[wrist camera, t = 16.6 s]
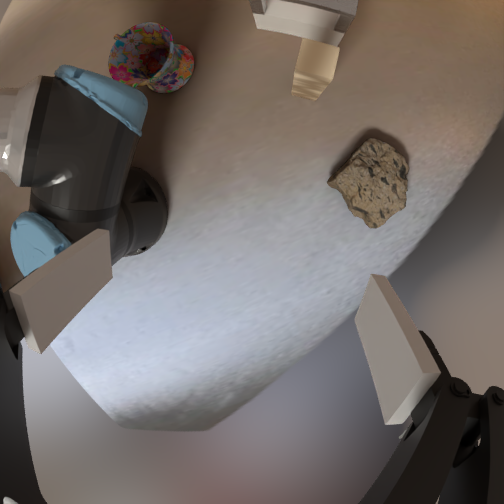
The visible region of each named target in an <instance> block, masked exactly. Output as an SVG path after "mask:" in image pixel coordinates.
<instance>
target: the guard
mask: <svg viewBox="0 0 504 504" xmlns="http://www.w3.org/2000/svg"><path fill="white" fill-rule="evenodd" d="M281 1H287V2H292V3H297V4H301V5H306V6H310V7H314V8H318V9H322V10H326V11H329V12H333V13H336V14H339V15H338V17H337V19H336V21H335V25H334V31H337V32H340V33H343V34H345V32H346V31H347V29H348V27H349V26H350V24H351V22H352V21H353V19H354V17H355V15H356V10H357V5H358V0H281ZM249 2H250V5H251V9H252V12H253V13H254V14H261V15H264V14H265V11H266V8H267V5H266V0H249Z"/></svg>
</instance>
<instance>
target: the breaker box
mask: <svg viewBox="0 0 504 504" xmlns="http://www.w3.org/2000/svg"><path fill="white" fill-rule="evenodd" d="M266 5H267V8H266V11H265V14H264V15H261V14H254V13H253V15H254V19H255V22H256V26H257V29H264V30H270V31H275V32H280V33H285V34H290V35H295V36H299V37H303V38H307V39H311V40H315V41H319V42H322V43H326V44H329V45H333V46H336V47H337V46H338V44H339V43H340V41H341V39H342V38H343V36H344V34H343V33H340V32H337V31H334V25H335V21H336V19H337V17H338V15H339V14H336V13H333V12H329V11H326V10H322V9H318V8H314V7H310V6H306V5H301V4H297V3H292V2H287V1H281V0H266Z"/></svg>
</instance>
